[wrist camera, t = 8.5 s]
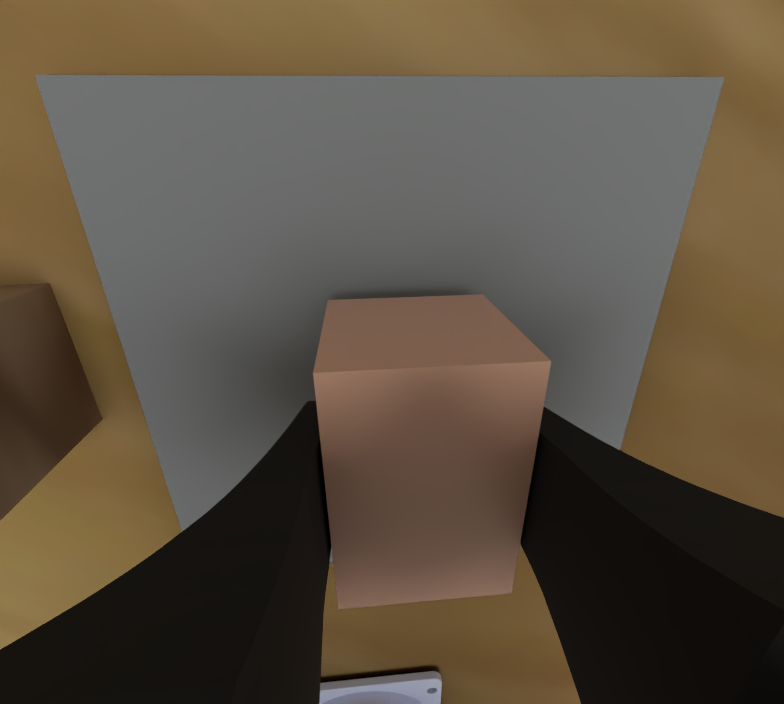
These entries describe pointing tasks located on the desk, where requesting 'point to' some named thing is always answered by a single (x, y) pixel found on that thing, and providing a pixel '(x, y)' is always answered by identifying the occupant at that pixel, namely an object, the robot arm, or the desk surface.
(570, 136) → the desk mat
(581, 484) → the robot arm
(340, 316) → the terracotta brick
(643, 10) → the desk surface
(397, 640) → the desk surface
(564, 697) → the desk surface
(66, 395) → the walnut cube
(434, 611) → the desk surface
